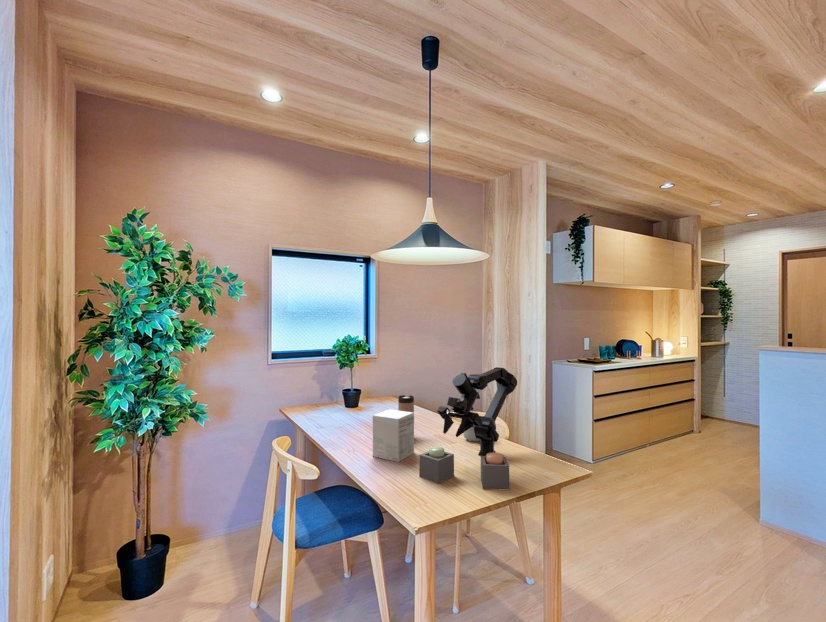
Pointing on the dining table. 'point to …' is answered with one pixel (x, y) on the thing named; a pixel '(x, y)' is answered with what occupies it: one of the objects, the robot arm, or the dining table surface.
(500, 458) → the terracotta button
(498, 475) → the terracotta button housing
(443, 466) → the grey button housing
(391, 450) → the supplement box
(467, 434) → the teacup
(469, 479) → the dining table surface
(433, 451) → the green button
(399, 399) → the travel mug
